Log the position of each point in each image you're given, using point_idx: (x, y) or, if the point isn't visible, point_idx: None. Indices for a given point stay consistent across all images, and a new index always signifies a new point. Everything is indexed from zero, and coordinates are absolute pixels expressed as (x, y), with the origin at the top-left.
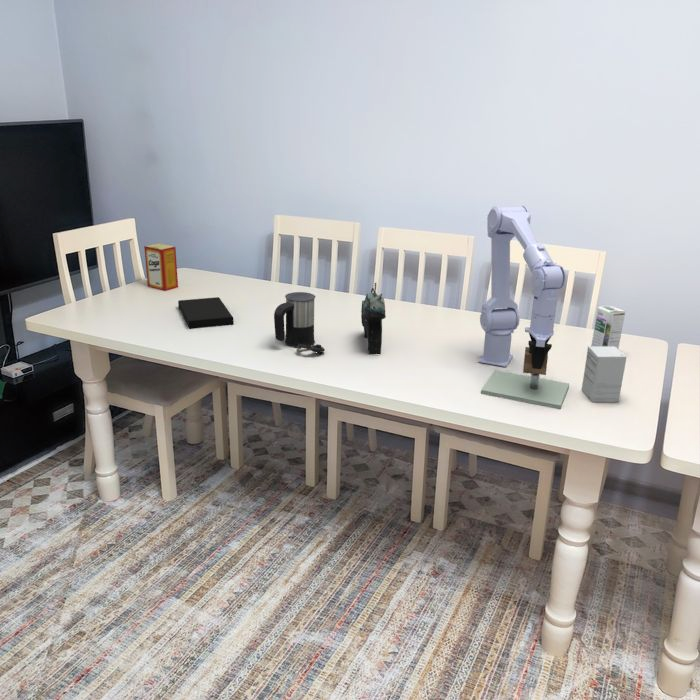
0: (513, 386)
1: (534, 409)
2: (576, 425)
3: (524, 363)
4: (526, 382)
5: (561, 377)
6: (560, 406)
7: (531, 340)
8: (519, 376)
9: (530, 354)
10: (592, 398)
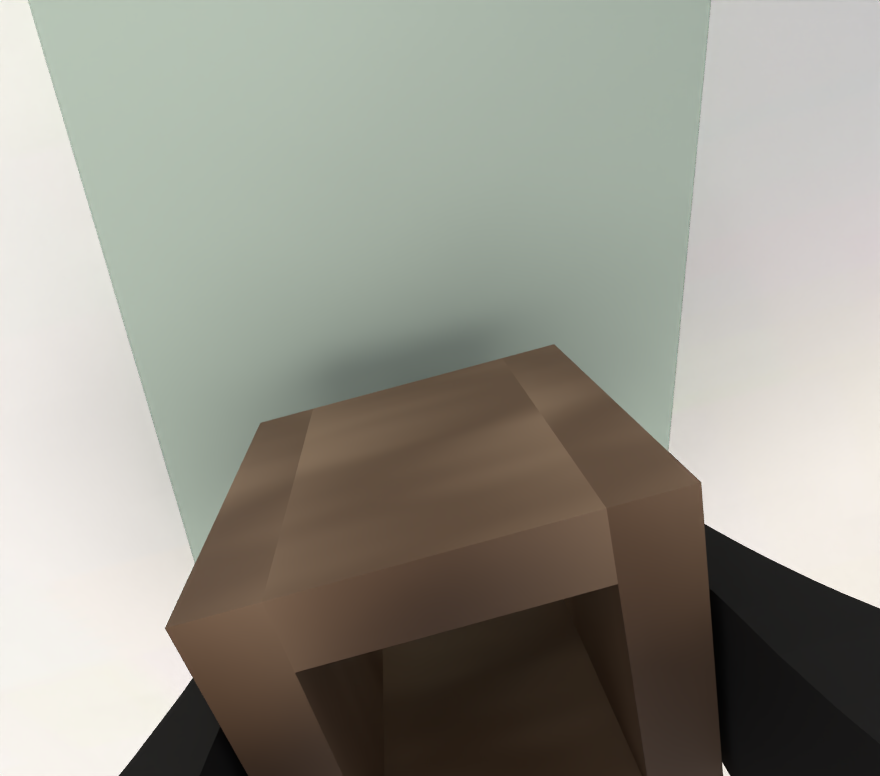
0: (355, 249)
1: (89, 507)
2: (61, 757)
3: (231, 503)
4: (521, 328)
5: (800, 494)
6: None
7: (857, 730)
8: (638, 225)
9: (236, 716)
10: None
